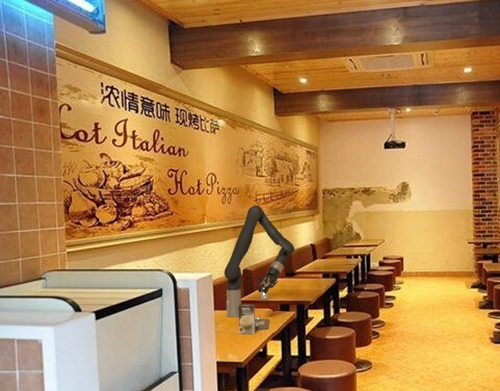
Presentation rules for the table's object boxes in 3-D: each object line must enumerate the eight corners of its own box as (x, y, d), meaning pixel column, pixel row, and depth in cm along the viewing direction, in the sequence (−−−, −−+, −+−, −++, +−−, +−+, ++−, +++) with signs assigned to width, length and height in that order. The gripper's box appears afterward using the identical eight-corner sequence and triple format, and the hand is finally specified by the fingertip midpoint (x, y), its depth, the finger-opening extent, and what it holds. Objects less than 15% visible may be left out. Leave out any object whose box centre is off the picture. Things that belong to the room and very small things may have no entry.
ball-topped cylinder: (261, 300, 358) (260, 287, 358) (260, 299, 362) (260, 286, 362) (268, 300, 358) (267, 287, 358) (267, 298, 362) (267, 285, 362)
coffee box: (238, 334, 331) (237, 306, 331) (240, 331, 337) (238, 304, 337) (254, 334, 330) (253, 305, 330) (255, 331, 336) (254, 303, 336)
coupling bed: (245, 330, 340) (245, 324, 340) (248, 320, 364) (248, 315, 364) (267, 329, 340) (267, 323, 340) (269, 320, 363) (269, 315, 363)
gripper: (264, 265, 370) (250, 287, 362) (280, 267, 360) (266, 289, 352) (270, 272, 374) (257, 294, 366) (286, 274, 363) (273, 296, 355)
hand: (261, 291), depth 359 cm, fingers closed on ball-topped cylinder, 4 cm apart
